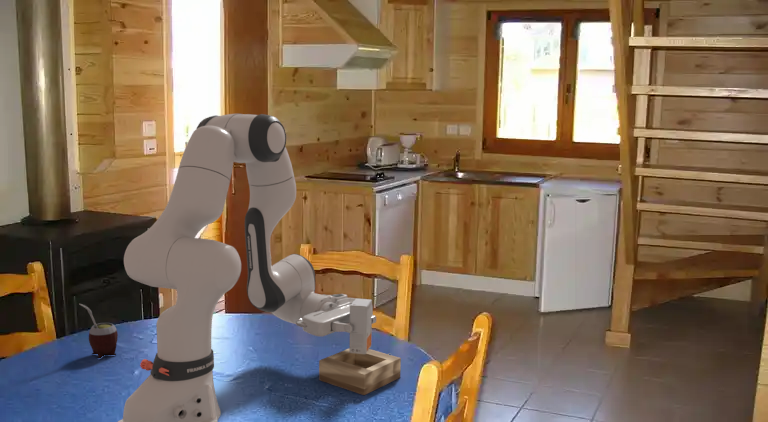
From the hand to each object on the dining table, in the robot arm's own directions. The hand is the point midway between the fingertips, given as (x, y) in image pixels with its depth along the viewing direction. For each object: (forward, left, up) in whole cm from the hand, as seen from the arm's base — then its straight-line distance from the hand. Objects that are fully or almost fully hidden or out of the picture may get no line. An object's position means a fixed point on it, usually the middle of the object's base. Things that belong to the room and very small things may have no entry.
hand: (363, 324), depth 182 cm
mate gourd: (-31, +62, -14) cm, 71 cm away
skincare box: (0, +1, -7) cm, 7 cm away
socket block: (0, +1, -14) cm, 14 cm away
